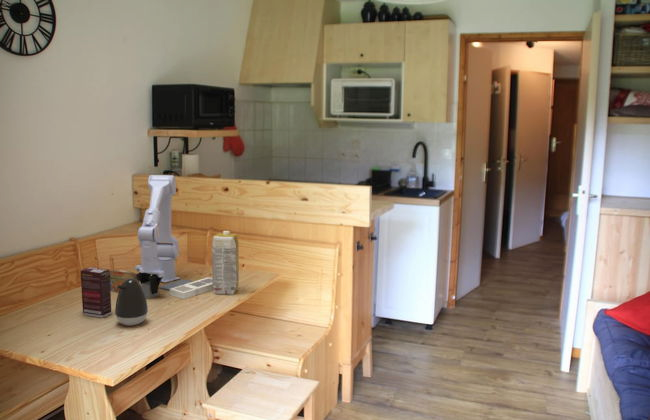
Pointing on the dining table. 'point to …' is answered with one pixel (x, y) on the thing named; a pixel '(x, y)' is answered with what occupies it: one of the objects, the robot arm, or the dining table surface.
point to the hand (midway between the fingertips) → (150, 292)
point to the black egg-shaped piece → (131, 303)
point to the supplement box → (96, 292)
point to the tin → (120, 278)
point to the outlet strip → (192, 288)
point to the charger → (148, 290)
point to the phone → (175, 284)
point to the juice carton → (225, 263)
